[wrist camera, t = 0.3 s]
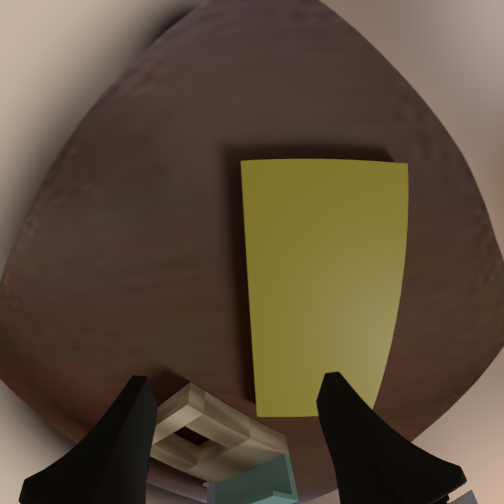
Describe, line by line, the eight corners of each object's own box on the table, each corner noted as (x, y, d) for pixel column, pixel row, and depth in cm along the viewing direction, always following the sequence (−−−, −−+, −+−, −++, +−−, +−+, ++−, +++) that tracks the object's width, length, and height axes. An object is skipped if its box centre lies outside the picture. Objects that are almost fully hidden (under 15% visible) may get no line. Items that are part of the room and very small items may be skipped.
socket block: (220, 468, 27) (220, 485, 24) (133, 424, 24) (127, 443, 21) (284, 435, 25) (289, 455, 22) (191, 381, 22) (187, 404, 19)
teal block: (220, 485, 24) (220, 524, 18) (197, 477, 23) (195, 518, 17) (289, 455, 22) (298, 500, 16) (266, 445, 21) (273, 495, 16)
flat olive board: (240, 162, 18) (256, 415, 25) (240, 160, 16) (258, 430, 22) (392, 164, 19) (365, 397, 25) (407, 163, 17) (372, 409, 23)
